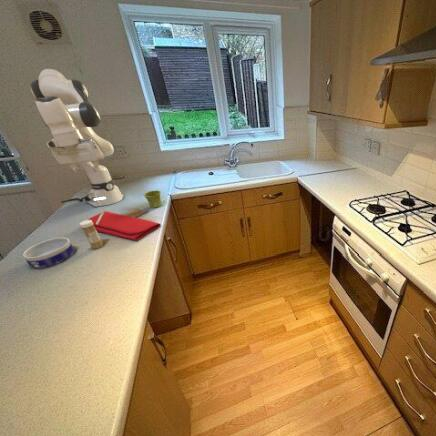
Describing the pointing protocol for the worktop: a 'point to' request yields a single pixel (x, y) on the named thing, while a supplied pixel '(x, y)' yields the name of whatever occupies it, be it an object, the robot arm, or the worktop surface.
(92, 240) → the sprinkles bottle
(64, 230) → the worktop surface
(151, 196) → the plant pot
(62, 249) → the dog bowl
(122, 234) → the dish drying mat
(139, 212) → the coaster
